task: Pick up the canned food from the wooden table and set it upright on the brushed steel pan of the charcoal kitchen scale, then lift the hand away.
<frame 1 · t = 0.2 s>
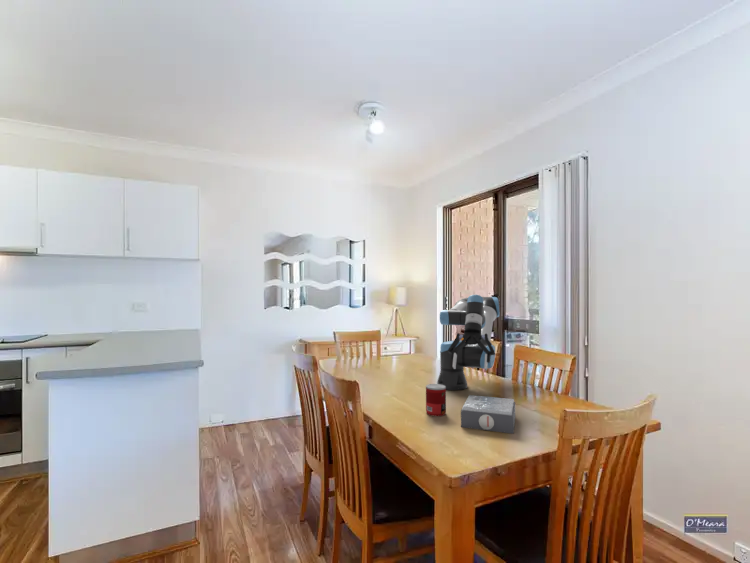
hand: (469, 368, 169), 16 cm above the table, tool tilted 35°, fingers open, 13 cm apart
scale pan: (488, 404, 148), point 7 cm above the table, slide at -0.3 cm, touching scale base
scale base: (489, 422, 148), on the table
canned food: (435, 413, 158), on the table
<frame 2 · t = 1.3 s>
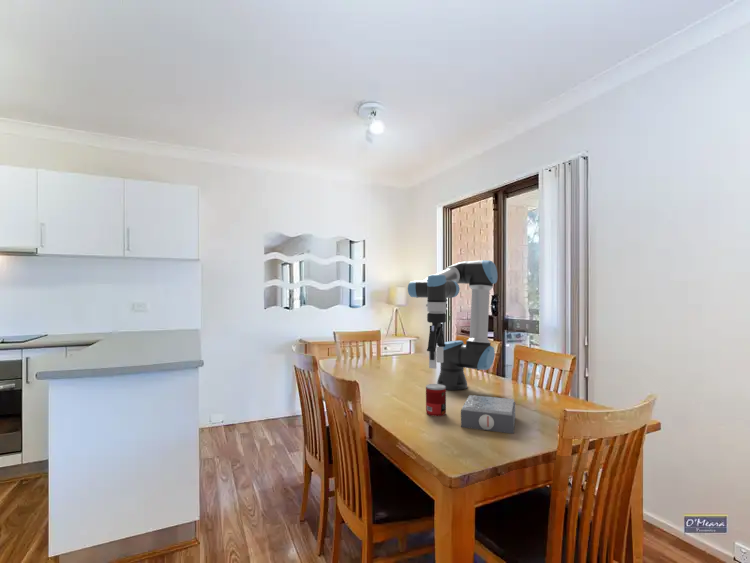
hand: (436, 365, 159), 19 cm above the table, tool pointing down, fingers open, 13 cm apart
nothing on the table moved.
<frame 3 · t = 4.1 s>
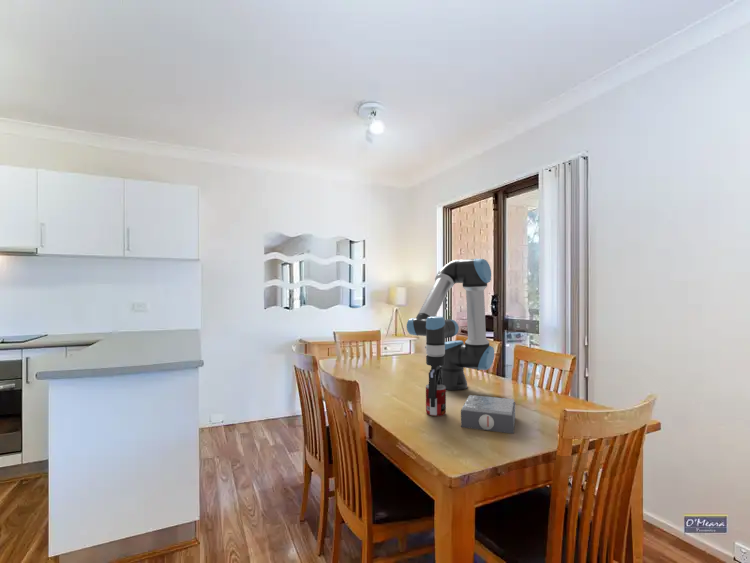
hand: (435, 411, 158), 1 cm above the table, tool pointing down, fingers closed on canned food, 8 cm apart
canned food: (435, 413, 158), on the table, touching gripper
everything else where it was.
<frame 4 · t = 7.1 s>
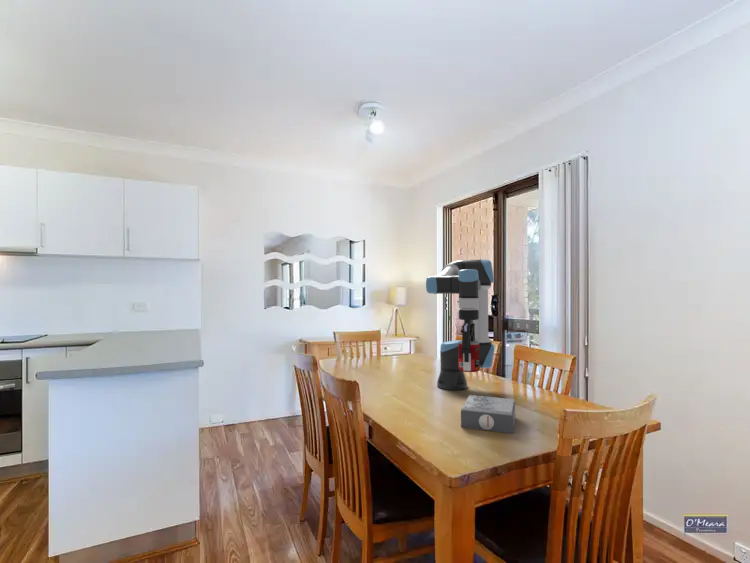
hand: (469, 368, 151), 20 cm above the table, tool pointing down, fingers closed on canned food, 8 cm apart
canned food: (468, 370, 151), point 19 cm above the table, touching gripper
everything else where it was.
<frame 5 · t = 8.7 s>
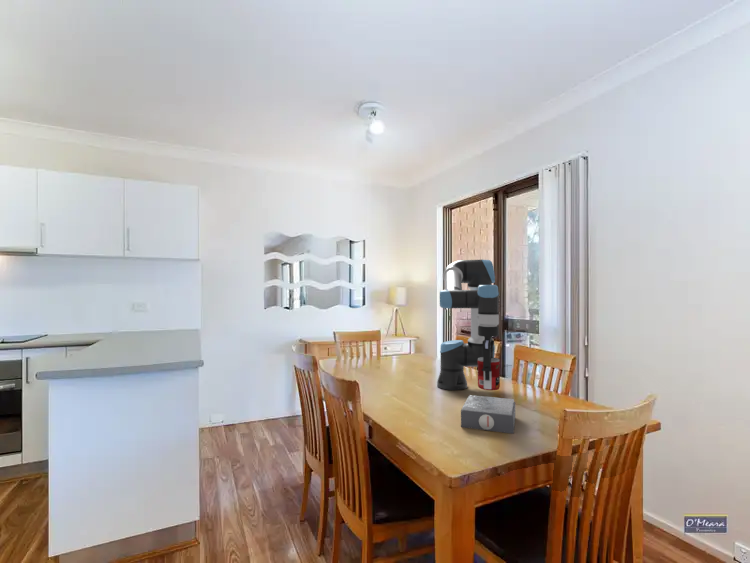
hand: (488, 386, 148), 14 cm above the table, tool pointing down, fingers closed on canned food, 8 cm apart
canned food: (488, 388, 148), point 13 cm above the table, touching gripper
everything else where it was.
when the fingers open (10 cm above the table, at t = 10.2 s): canned food drops 2 cm, resting on scale pan.
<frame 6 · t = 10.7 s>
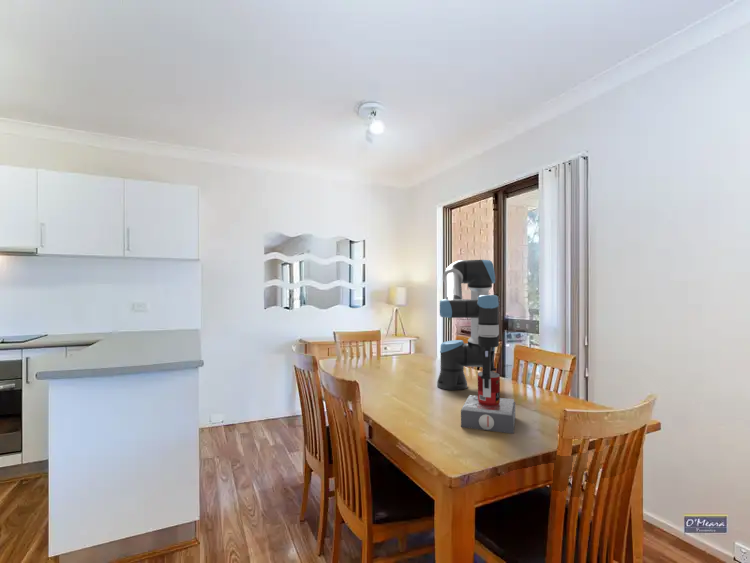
hand: (488, 392, 148), 11 cm above the table, tool pointing down, fingers open, 13 cm apart
scale pan: (488, 404, 148), point 7 cm above the table, slide at -0.3 cm, touching canned food, scale base
canned food: (488, 403, 148), point 7 cm above the table, touching scale pan
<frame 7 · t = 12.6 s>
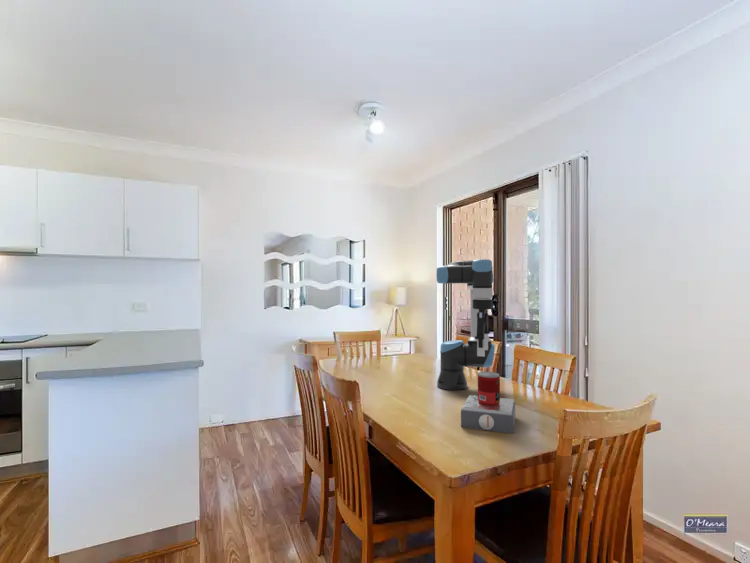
hand: (482, 353, 154), 25 cm above the table, tool pointing down, fingers open, 13 cm apart
nothing on the table moved.
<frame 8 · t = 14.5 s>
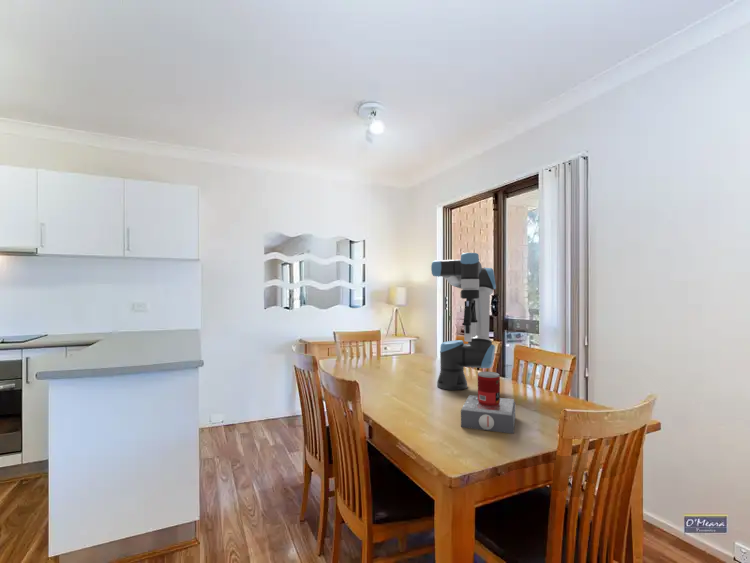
hand: (470, 339, 166), 29 cm above the table, tool pointing down, fingers open, 13 cm apart
nothing on the table moved.
at the end: canned food inside the target area on the scale base (0.0 cm from its centre), point 7.0 cm above the scale base's base; canned food tilted 0°; the gripper is holding nothing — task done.
